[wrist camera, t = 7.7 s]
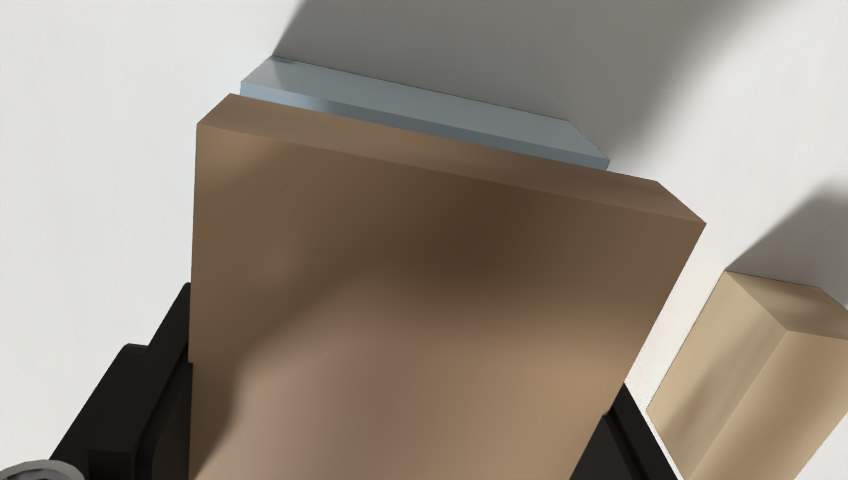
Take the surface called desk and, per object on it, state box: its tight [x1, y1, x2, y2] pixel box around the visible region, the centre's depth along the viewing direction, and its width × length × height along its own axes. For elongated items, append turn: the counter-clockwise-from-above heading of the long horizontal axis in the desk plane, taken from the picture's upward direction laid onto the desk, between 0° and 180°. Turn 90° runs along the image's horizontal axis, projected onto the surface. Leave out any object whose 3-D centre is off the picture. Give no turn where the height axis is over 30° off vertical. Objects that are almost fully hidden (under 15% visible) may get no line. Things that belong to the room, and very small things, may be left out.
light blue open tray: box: [240, 56, 610, 171], centre depth 16 cm, size 9×9×4 cm
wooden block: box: [646, 271, 848, 480], centre depth 20 cm, size 4×7×4 cm, turn 167°
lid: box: [188, 93, 707, 480], centre depth 10 cm, size 7×10×2 cm, turn 167°
